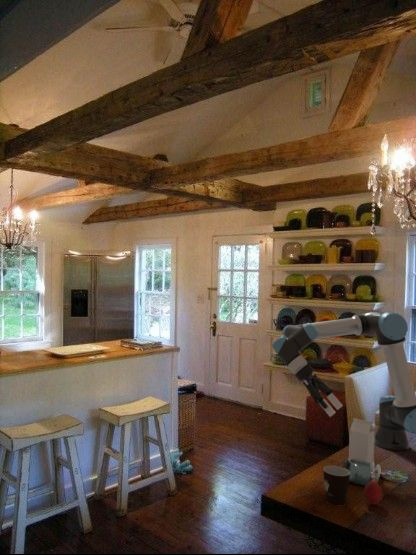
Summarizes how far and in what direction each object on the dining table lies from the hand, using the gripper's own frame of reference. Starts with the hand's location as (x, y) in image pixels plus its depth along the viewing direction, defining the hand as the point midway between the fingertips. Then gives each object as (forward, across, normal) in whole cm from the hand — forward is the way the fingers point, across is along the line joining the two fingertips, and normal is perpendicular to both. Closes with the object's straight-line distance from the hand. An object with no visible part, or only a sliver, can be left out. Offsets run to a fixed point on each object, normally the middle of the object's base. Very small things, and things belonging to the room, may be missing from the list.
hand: (336, 411), depth 176 cm
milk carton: (+22, +1, -8) cm, 23 cm away
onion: (+28, +24, -4) cm, 38 cm away
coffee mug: (+20, +28, -12) cm, 36 cm away
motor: (+23, +4, -9) cm, 25 cm away
